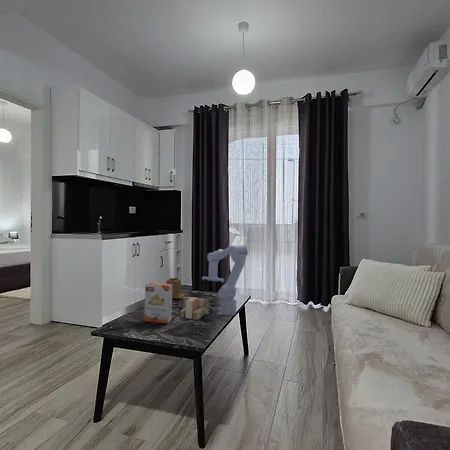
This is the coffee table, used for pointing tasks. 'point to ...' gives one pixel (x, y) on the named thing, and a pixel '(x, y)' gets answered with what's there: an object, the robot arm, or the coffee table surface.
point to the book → (191, 307)
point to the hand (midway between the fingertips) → (212, 291)
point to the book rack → (202, 309)
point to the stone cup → (176, 288)
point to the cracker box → (158, 303)
